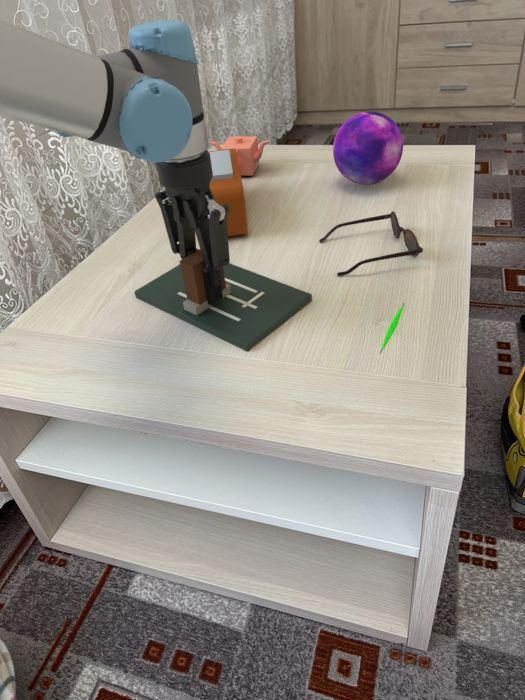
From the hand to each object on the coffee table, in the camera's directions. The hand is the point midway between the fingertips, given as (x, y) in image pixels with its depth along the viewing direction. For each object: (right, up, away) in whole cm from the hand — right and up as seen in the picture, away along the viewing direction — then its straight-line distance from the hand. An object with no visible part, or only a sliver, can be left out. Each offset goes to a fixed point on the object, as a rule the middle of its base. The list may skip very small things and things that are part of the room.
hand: (207, 297), depth 89 cm
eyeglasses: (+28, +9, +11) cm, 31 cm away
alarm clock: (+1, +20, +28) cm, 35 cm away
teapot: (+4, +35, +47) cm, 59 cm away
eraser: (0, -1, 0) cm, 1 cm away
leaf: (+29, -6, -7) cm, 30 cm away
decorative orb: (+33, +29, +35) cm, 56 cm away
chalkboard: (+2, 0, +3) cm, 4 cm away
